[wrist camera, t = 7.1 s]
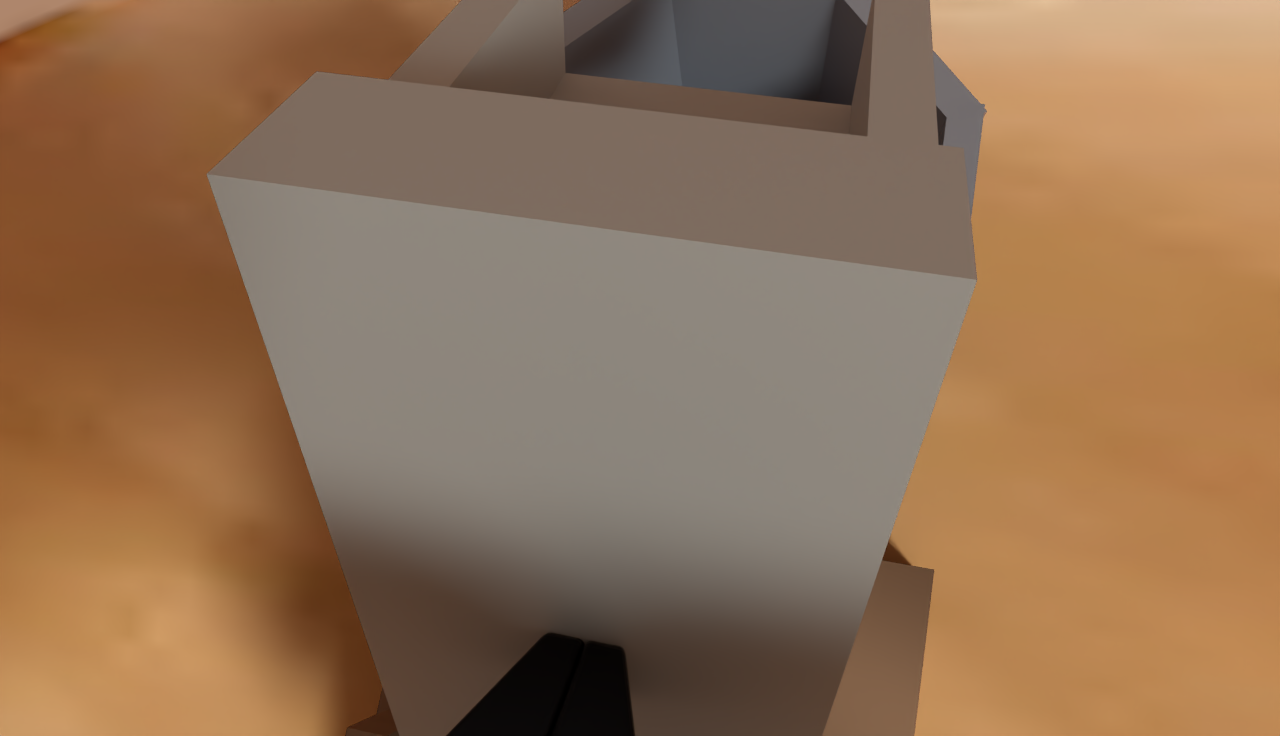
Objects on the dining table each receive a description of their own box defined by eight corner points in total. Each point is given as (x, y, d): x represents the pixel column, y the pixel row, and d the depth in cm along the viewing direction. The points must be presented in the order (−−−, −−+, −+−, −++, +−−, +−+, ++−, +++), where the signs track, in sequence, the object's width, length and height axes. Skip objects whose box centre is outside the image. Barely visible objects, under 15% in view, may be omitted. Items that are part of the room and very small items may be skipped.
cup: (893, 484, 19) (944, 461, 15) (501, 418, 21) (428, 376, 16) (941, 108, 21) (1003, -26, 16) (574, 67, 22) (527, -70, 17)
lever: (738, 1397, 11) (1300, 1592, 2) (283, 1257, 12) (-764, 949, 3) (807, 594, 19) (978, -69, 10) (538, 543, 20) (478, -112, 11)
